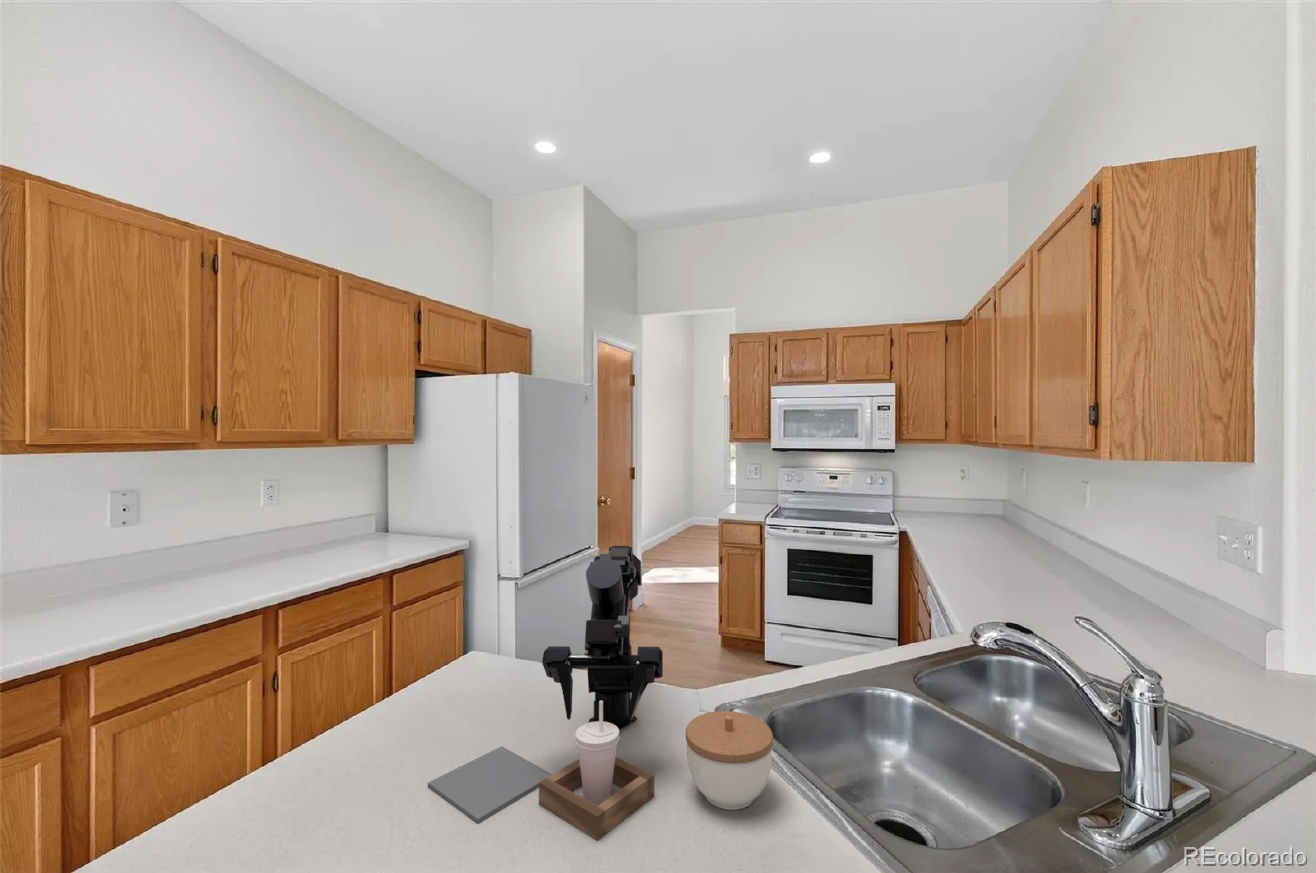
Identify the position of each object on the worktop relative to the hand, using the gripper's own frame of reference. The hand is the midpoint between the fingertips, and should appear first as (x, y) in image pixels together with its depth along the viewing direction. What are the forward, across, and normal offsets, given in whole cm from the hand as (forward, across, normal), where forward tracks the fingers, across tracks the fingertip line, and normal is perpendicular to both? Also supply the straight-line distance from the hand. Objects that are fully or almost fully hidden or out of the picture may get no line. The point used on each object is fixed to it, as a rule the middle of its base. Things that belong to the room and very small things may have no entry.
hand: (599, 718), depth 81 cm
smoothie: (+9, 0, +6) cm, 11 cm away
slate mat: (+6, -16, +8) cm, 19 cm away
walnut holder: (+9, 0, +6) cm, 11 cm away
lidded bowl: (+8, +19, +7) cm, 22 cm away
